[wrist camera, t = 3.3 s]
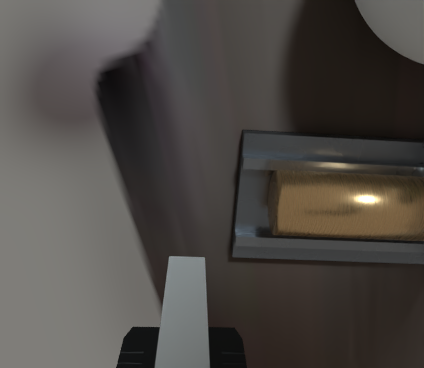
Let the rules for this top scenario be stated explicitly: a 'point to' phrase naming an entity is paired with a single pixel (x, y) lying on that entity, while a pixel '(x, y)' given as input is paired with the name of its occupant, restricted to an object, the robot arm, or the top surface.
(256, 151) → the grey open frame rack
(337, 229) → the copper tube
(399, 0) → the decorative ball
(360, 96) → the top surface
